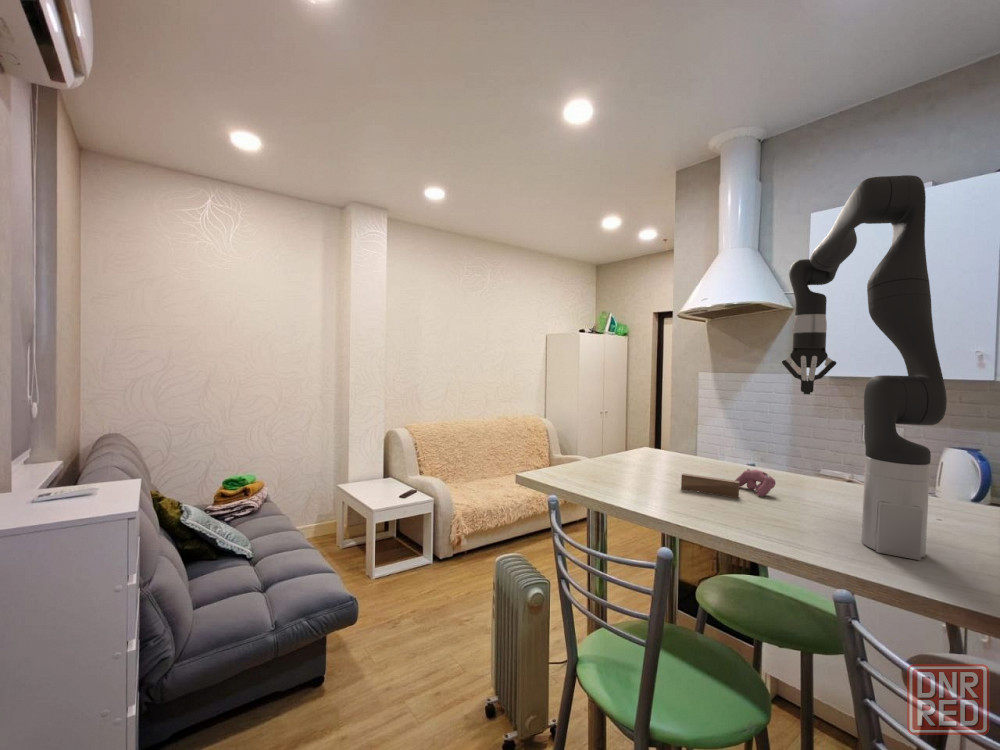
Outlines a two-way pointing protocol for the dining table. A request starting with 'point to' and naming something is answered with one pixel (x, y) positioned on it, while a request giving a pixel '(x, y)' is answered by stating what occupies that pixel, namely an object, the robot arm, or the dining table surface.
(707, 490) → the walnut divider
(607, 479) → the dining table surface
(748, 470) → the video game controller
